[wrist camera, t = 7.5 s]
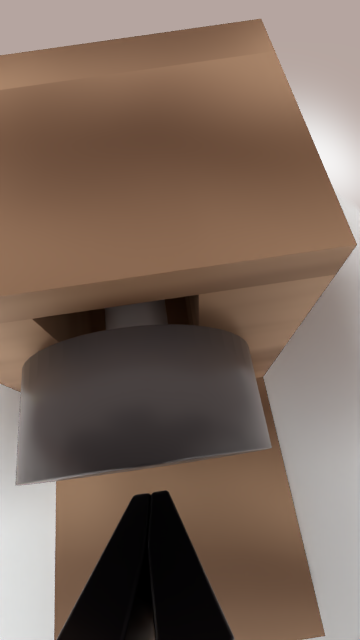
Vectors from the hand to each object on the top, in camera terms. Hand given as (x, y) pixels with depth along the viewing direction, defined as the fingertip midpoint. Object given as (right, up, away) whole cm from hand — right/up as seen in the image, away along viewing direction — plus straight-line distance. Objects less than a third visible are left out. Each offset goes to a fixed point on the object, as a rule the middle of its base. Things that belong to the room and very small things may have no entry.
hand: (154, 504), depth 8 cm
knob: (-1, +3, +5) cm, 6 cm away
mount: (0, 0, +7) cm, 7 cm away
